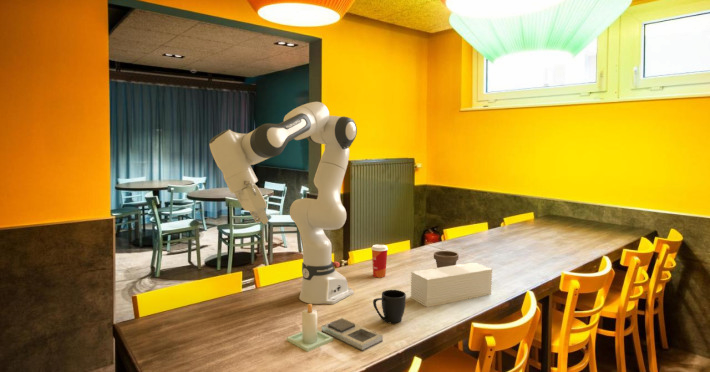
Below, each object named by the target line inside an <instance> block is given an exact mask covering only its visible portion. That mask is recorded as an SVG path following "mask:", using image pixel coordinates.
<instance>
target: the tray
mask: <svg viewBox="0 0 710 372" xmlns="http://www.w3.org/2000/svg"><path fill="white" fill-rule="evenodd" d="M286 341H287V342H289V343H290V344H292V345H294V346H295V347H298V348H300V349H302V350H304V351H305V352H307V353H309V352H311V351H313V350H315V349H317V348H320V347H322V346H324V345H326V344H328V343H331V342H333V341H334V338H333V337H331V336H329V335H327V334H325V333H323V332H322V331H320V330H318V329H317V342H316V343H313V344H306V343H303V341H302V331H299V332H297V333H294V334H292V335H290V336H287V337H286Z"/></svg>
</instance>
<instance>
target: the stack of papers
mask: <svg viewBox="0 0 710 372" xmlns="http://www.w3.org/2000/svg"><path fill="white" fill-rule="evenodd" d="M492 278H493V268H491V267H488V266H485V265H482V264H481V263H477V262H468V263H467V262H466V263H461V264H456V265H453V266H447V267H440V268H437V267H436V268H435V267H434V268H427V269H422V270H414V271H411V277H410V283H411V284H410V298H411V299H413V301H416V302H418V303H419V304H421V305H423V306H424V307H425V308H428V307H433V306H439V305H443V304H449V303H453V302H460V301H464V300H467V299H468V298H469V299H474V298H478V296H479V297H483V295H484V296H488V295H487V294H489V295H492V288H493V287H492V285H493V284H492V283H493V282H492V281H493V279H492ZM473 297H474V298H473ZM469 299H468V300H469Z"/></svg>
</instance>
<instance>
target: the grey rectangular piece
mask: <svg viewBox="0 0 710 372" xmlns="http://www.w3.org/2000/svg"><path fill="white" fill-rule="evenodd" d="M321 332H322V333H324V334H326V335H329V336H331V337H333V339H335V340H338V341H340V342H342V343H344V344H346V345H348V346H350V347H352V348H354V349H357V350H358V351H360V352H365V351H366V350H368V349H371V348H372V347H374V346H376V345H378V344H380V343H383V340H384V339H383V338H384V336H383V335H382V334H381V333H378V332H376V331H373V330H371V329H370V328H369V329H368V328H366V327H364V326H362V325H360V324H357V323H355V322H352V321H350V320H348V319H346V318H343V317H341V318H339V319H336V320H333V321H331V322H328V323H325V324H323V325H321Z"/></svg>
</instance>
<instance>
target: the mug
mask: <svg viewBox="0 0 710 372" xmlns="http://www.w3.org/2000/svg"><path fill="white" fill-rule="evenodd" d="M406 297H407V295H406V292H404V291H402V290H399V289H389V290H388V289H387V290H384V291H382V292H381V297H378V298H374V299H373V300H372V305H373V307H374V310H375V311H376V313H377V314H378V316H379V317H380V319H381V320H382V321H384V322H386V323H388V324H391V325H392V324H393V325H394V324H400V323H401V322H402V319H403V317H404V313H405V309H406V300H407V299H406ZM378 301H381V308H382V313H383V315H382V314H381V312H380V311H379V308H378V307H377V302H378Z"/></svg>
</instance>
